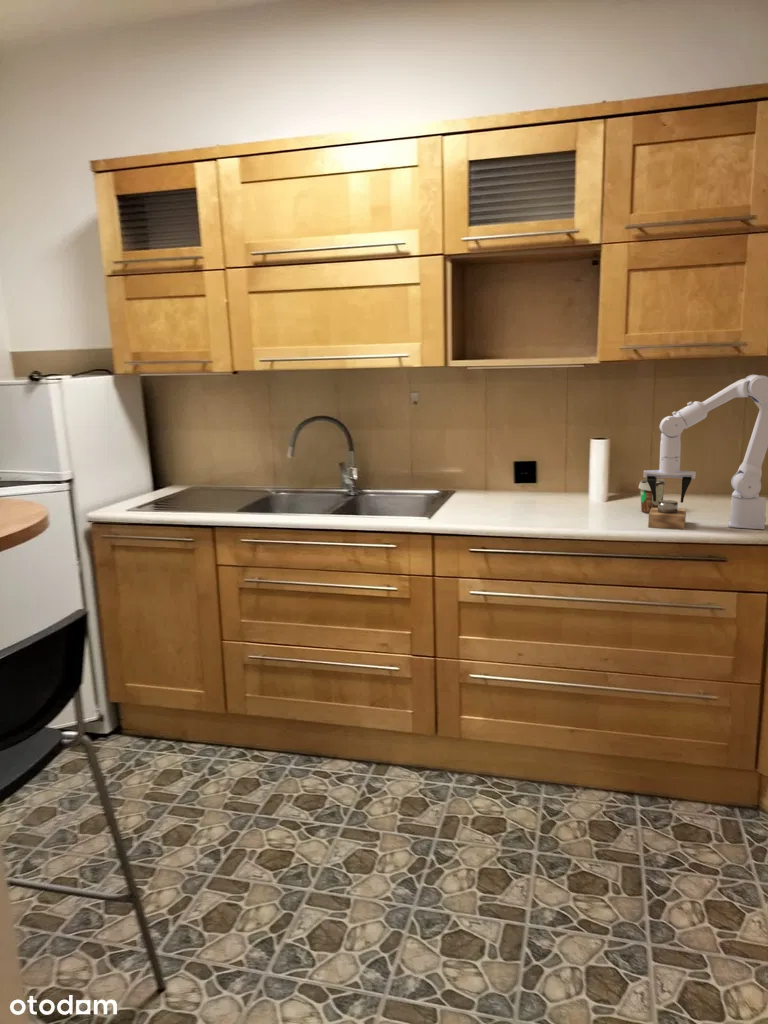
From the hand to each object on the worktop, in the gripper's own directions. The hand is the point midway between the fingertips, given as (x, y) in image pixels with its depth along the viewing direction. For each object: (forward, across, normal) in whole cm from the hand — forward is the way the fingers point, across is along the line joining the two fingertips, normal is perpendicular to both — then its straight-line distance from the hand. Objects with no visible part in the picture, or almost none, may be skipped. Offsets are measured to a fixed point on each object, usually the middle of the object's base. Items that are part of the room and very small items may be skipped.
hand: (668, 501), depth 224 cm
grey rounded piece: (+7, 0, 0) cm, 7 cm away
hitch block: (+7, 0, 0) cm, 7 cm away
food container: (+7, +7, -19) cm, 22 cm away
